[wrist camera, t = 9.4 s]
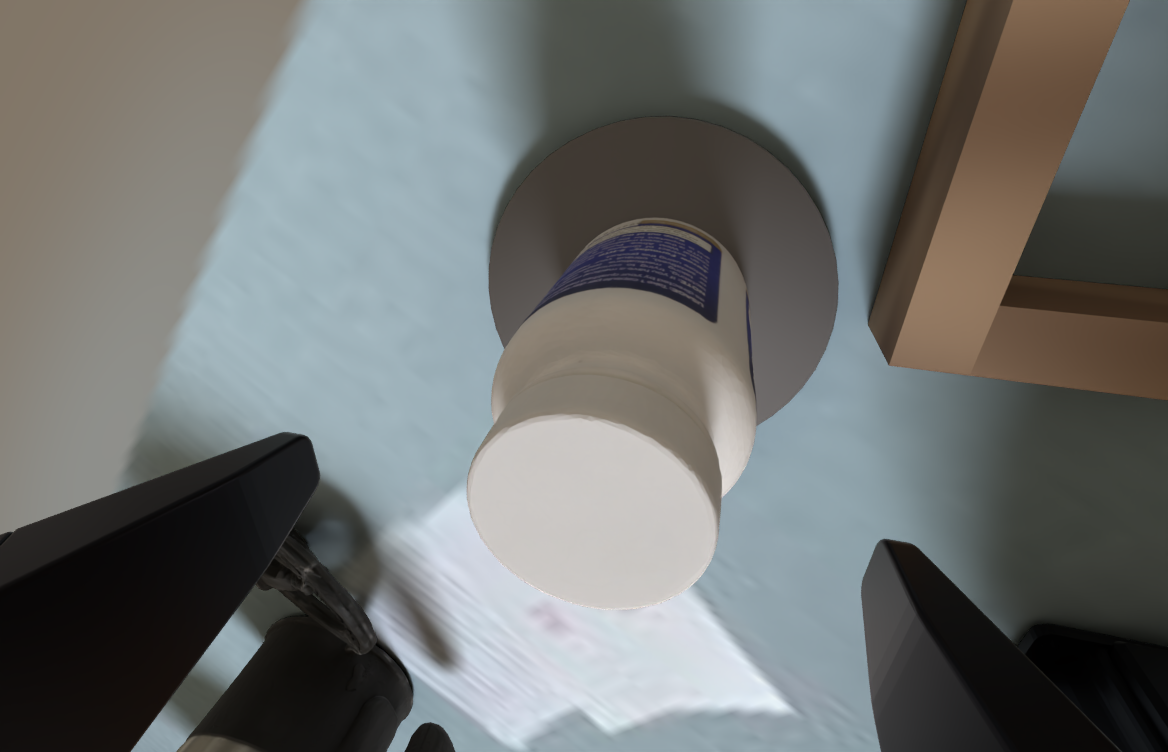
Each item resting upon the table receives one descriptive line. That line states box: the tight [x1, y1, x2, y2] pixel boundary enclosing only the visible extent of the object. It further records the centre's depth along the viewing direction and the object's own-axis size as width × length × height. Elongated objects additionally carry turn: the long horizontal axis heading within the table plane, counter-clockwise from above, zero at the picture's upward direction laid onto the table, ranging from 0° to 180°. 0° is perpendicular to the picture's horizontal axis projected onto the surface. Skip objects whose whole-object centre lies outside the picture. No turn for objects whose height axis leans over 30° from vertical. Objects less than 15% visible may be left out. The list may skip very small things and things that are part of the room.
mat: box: [489, 116, 838, 426], centre depth 16 cm, size 10×10×1 cm
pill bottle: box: [467, 218, 757, 610], centre depth 12 cm, size 5×5×9 cm
